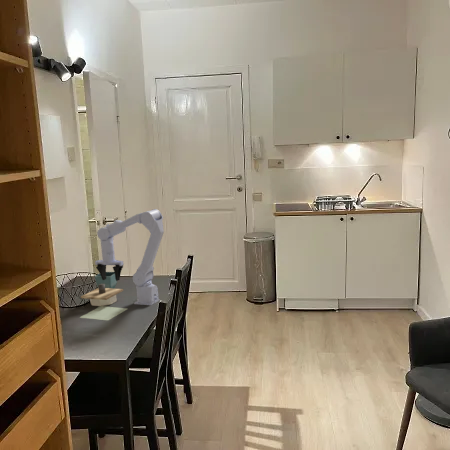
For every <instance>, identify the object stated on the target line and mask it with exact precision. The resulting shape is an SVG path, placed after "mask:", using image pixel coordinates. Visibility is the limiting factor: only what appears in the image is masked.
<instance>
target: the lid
mask: <svg viewBox="0 0 450 450" xmlns="http://www.w3.org/2000/svg"><path fill="white" fill-rule="evenodd" d="M98 287H99V288H98ZM98 287H97V288H95V289H93V290H91V291H89V292H87V293H85V294H82V295H81V296H80V298H81V299H86V300H87V299H88V300H90V299H100V300H107V299H109V298H111V297H113V296H115V295H116V296H117V295H119V294H120V293H122V292H124V289H123V288H115V289H113V288H105V284H99V285H98Z"/></svg>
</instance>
